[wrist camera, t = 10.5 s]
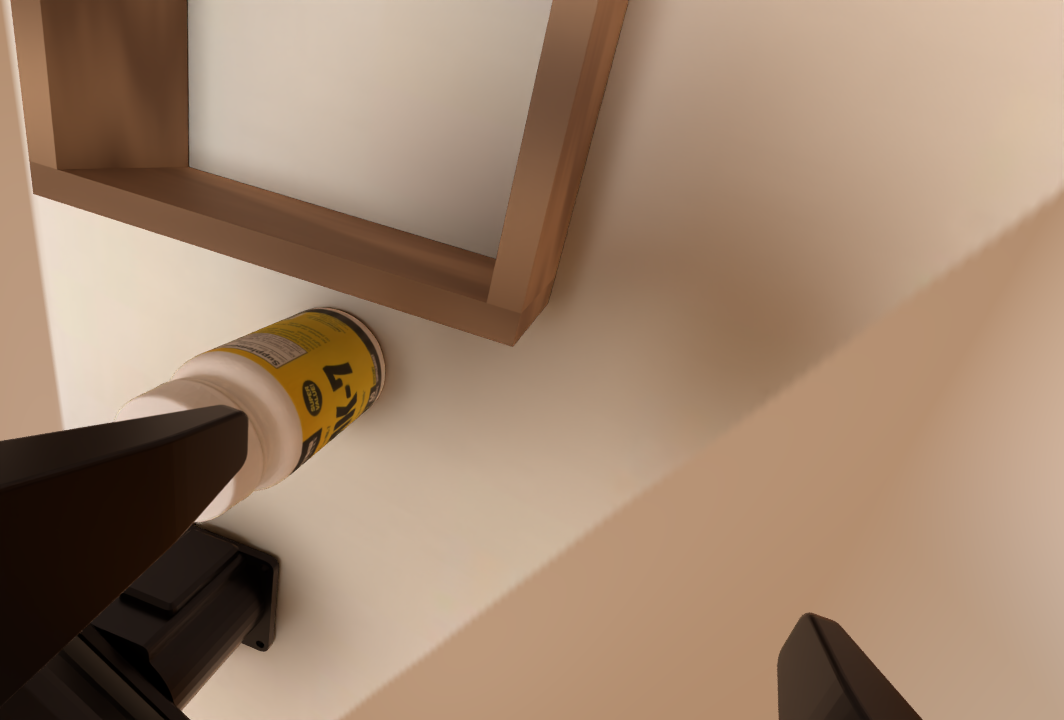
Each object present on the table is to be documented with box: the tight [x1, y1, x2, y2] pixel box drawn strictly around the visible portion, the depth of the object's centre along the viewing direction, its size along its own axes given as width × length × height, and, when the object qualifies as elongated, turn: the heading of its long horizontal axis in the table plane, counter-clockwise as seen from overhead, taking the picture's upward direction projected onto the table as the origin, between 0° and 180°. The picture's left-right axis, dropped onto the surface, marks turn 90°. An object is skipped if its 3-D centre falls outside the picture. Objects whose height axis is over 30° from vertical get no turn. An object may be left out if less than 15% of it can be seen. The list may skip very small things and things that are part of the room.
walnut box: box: [11, 0, 629, 347], centre depth 16 cm, size 12×16×5 cm
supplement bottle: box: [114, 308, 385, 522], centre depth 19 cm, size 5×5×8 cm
